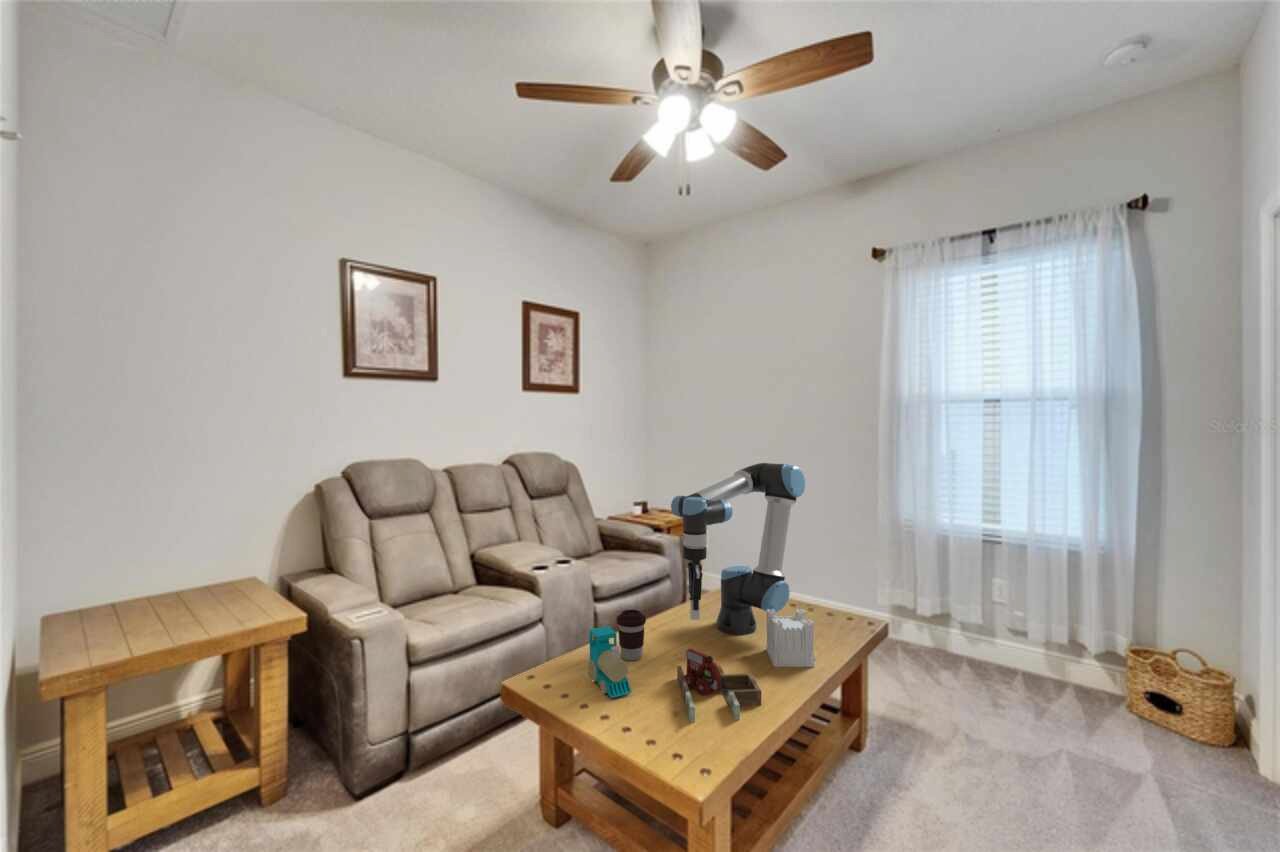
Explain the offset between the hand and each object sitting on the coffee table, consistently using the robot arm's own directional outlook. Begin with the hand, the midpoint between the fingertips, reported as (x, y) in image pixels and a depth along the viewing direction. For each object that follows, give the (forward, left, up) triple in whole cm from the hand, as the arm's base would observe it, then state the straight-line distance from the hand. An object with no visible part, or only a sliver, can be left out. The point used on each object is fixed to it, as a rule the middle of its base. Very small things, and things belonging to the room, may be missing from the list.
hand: (695, 618), depth 175 cm
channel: (+18, 0, -16) cm, 24 cm away
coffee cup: (-11, -20, -17) cm, 28 cm away
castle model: (-5, +34, -17) cm, 38 cm away
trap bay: (+18, +10, -16) cm, 26 cm away
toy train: (+8, -28, -17) cm, 33 cm away
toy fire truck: (+12, 0, -17) cm, 21 cm away
